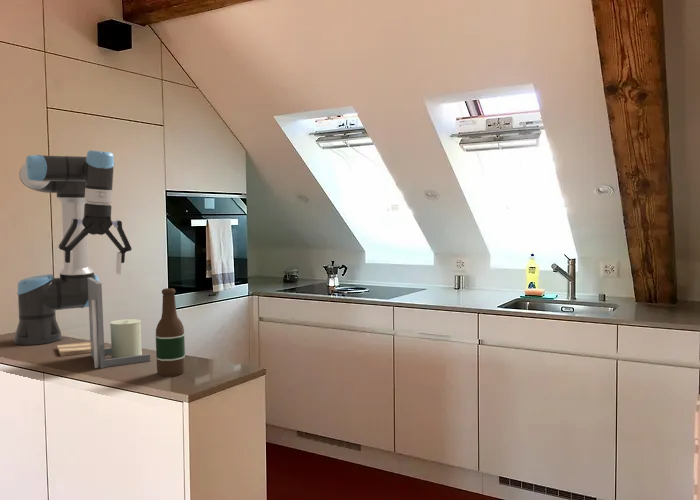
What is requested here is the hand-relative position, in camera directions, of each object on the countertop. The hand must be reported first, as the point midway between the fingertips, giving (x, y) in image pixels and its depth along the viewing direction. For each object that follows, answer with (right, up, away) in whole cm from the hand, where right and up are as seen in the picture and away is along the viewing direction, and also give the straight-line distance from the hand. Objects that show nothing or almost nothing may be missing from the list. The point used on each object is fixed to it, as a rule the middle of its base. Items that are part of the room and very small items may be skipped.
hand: (94, 273), depth 187 cm
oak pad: (-13, -26, +20) cm, 36 cm away
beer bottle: (+27, -28, -12) cm, 40 cm away
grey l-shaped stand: (+5, -27, +6) cm, 28 cm away
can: (+7, -27, +8) cm, 29 cm away
